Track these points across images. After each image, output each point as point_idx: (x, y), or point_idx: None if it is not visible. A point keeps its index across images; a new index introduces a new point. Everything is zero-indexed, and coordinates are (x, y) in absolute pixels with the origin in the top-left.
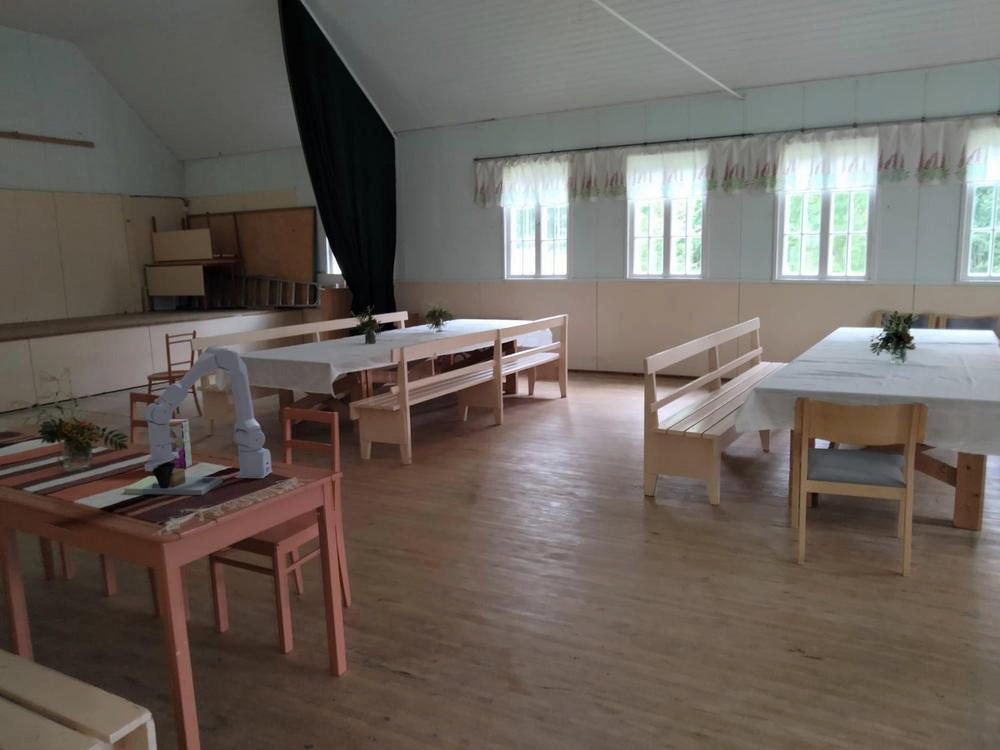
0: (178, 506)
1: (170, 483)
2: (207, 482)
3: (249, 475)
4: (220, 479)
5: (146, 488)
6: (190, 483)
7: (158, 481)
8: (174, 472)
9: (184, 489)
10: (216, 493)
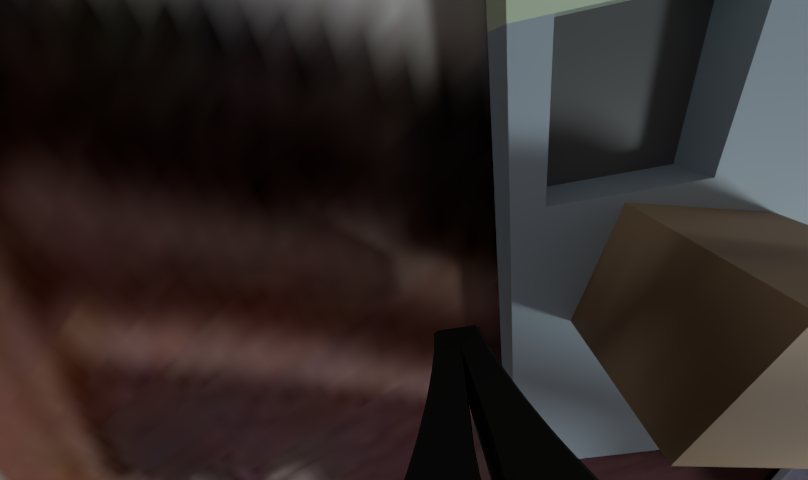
0: (317, 440)
1: (603, 310)
2: None
3: (805, 476)
4: None
5: (524, 75)
6: None
7: (430, 397)
8: (694, 464)
9: None
10: None
